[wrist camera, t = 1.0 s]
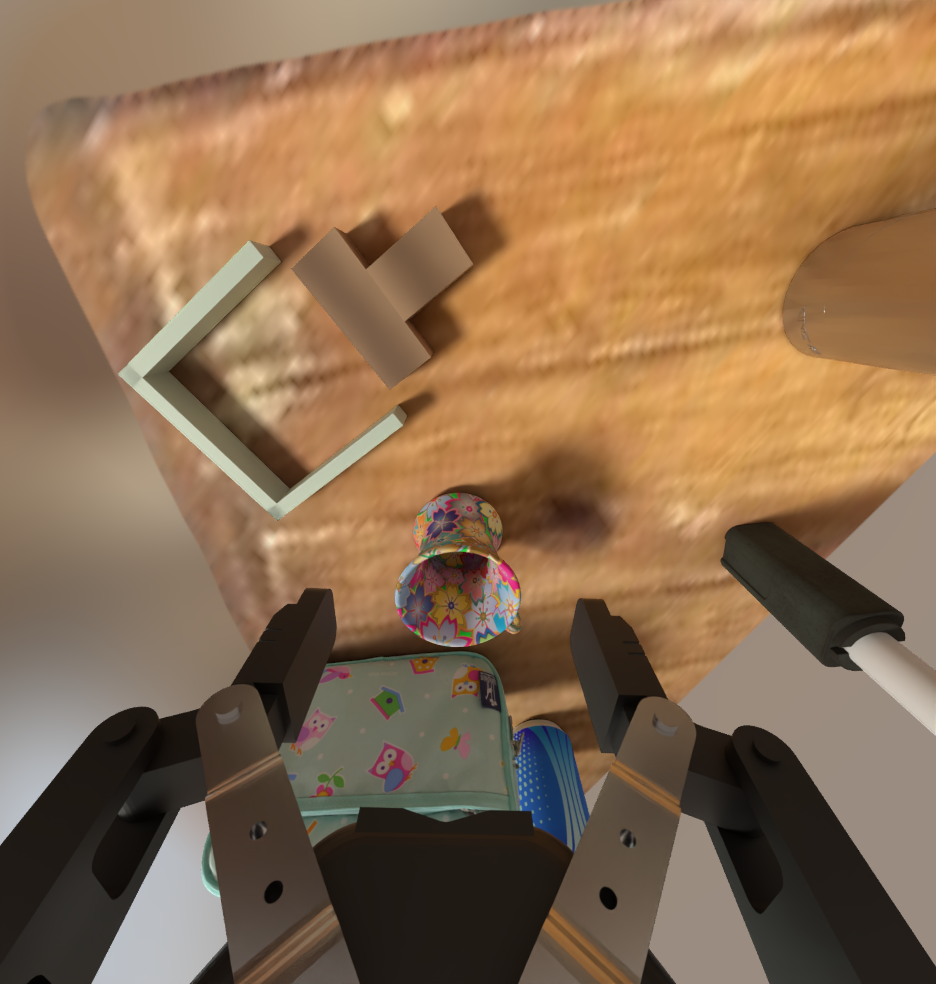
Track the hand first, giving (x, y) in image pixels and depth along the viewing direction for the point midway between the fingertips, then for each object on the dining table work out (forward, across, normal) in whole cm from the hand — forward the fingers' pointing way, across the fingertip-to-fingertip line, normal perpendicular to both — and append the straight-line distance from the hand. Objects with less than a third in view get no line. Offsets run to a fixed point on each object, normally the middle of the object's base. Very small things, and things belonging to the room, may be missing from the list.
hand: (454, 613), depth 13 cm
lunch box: (+24, +6, +32) cm, 40 cm away
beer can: (+24, -11, +42) cm, 50 cm away
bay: (+24, +15, -2) cm, 28 cm away
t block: (+24, +5, -10) cm, 26 cm away
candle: (+24, -30, +12) cm, 40 cm away
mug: (+24, -1, +12) cm, 27 cm away
